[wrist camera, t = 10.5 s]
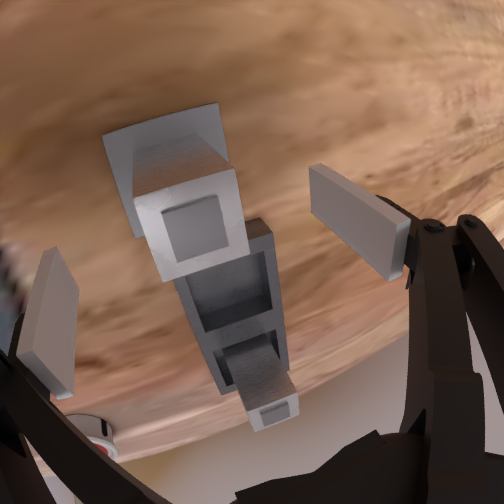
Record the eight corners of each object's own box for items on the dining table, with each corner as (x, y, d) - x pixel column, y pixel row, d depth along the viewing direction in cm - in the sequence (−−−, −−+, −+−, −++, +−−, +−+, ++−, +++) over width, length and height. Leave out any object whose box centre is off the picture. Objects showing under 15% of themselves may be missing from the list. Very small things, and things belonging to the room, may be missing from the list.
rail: (164, 247, 28) (168, 266, 25) (260, 217, 29) (272, 232, 27) (214, 377, 39) (221, 395, 36) (280, 353, 41) (289, 369, 38)
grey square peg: (133, 152, 22) (132, 201, 14) (196, 133, 23) (236, 170, 15) (150, 210, 25) (163, 285, 17) (209, 192, 26) (252, 256, 18)
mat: (102, 135, 21) (101, 136, 21) (216, 102, 23) (218, 103, 22) (135, 235, 26) (135, 238, 26) (235, 204, 28) (237, 206, 27)
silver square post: (217, 338, 35) (247, 414, 26) (259, 323, 36) (299, 394, 27) (226, 364, 37) (255, 434, 29) (265, 350, 38) (300, 416, 30)
